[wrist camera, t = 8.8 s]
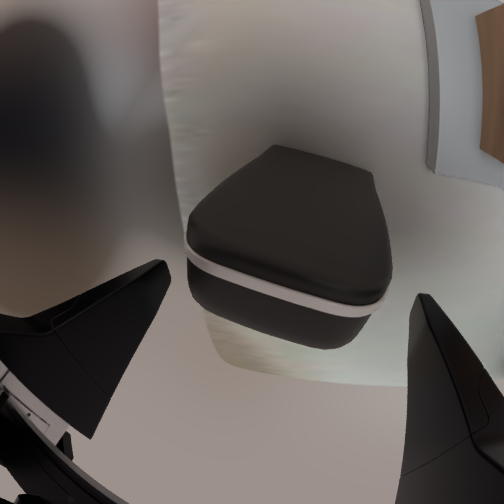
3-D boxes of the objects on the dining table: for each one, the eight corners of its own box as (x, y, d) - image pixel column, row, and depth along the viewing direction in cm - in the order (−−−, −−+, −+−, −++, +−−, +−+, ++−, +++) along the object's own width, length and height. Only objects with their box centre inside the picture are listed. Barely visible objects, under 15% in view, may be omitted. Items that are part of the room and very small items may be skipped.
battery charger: (260, 194, 19) (167, 314, 10) (268, 141, 16) (158, 227, 7) (359, 224, 17) (351, 377, 8) (377, 172, 15) (407, 305, 6)
